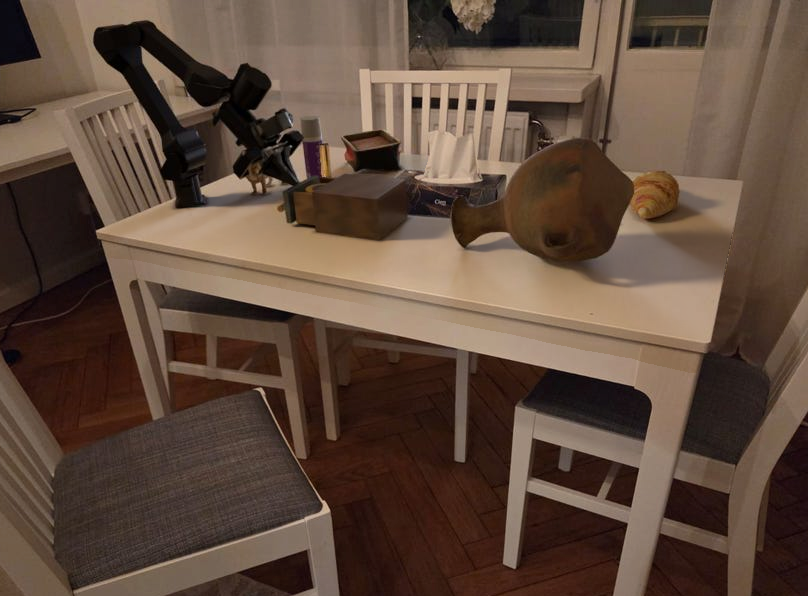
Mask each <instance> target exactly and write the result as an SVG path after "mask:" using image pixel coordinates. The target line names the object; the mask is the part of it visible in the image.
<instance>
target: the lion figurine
mask: <svg viewBox="0 0 808 596" xmlns="http://www.w3.org/2000/svg"><path fill="white" fill-rule="evenodd" d="M260 169H261V168H260V166H259V164H258V163H257V164H255V165H253V166H250V167H249V168H248V170H249V175H248V176H247V177H245V179H246V180H247V181H248V182H249V183H250V184H251V188H252V191H251V195H253V196H255V195H257V194H258V189H257V184H261V194H262V195H263V196H265V195H268V189H267V188H269V187H271V186H272V182H273V179H274V178H272V177H269V176H267V175H264V174H261V175H260V174H259V173H258V172H259V171H260ZM266 179H268V182H267V181H266ZM280 182H281V185H286V184H287V183H285V182H282V181H280Z"/></svg>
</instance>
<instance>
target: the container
mask: <svg viewBox="0 0 808 596" xmlns="http://www.w3.org/2000/svg"><path fill="white" fill-rule="evenodd" d="M300 130H301V134H302V136H303V137H304V139H303V141H302V142H301V143H302V151H303V158H304V167H305V168H304V169H305V174H306V175H305V176H306V179H308V178H309V177H311V176H313V175H318V176H319V184H321V183H320V177H322V175H321V162H320V153H319V145H320V144H323V145H324V143H323V135H322V127H321V117H320V116H319V115H307V116H302V117H300Z"/></svg>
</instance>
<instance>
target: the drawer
mask: <svg viewBox="0 0 808 596" xmlns="http://www.w3.org/2000/svg"><path fill="white" fill-rule="evenodd" d="M336 178H337V177H329V176H326V177H320V183H329V182H331V181H332V180H334V179H336ZM299 182H300V183H298V184H296V185H294V186H292V185H291V187H289V188H286V189H284V190H283V191H282V197H283V202H282V203H281V204H279V205H277V207H276V210H277V212H279V213H283V212H285V219H286V220H285V221H286V224H293V223H295V222H296V223H297V224H301V225H310V226H315V217H314V208H313V199H312V193H307V192H306V188H307V187H308V186H311V185H314V184H319V176H318V175H313V176H311V177H309V178H308V179H307V178H305V179H304V180H302V181H299Z"/></svg>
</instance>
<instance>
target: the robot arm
mask: <svg viewBox="0 0 808 596" xmlns="http://www.w3.org/2000/svg"><path fill="white" fill-rule="evenodd" d="M92 44H93V46H94V49H95V50H96V51H97V53H98V54H99V55H100V57H101V58H102V60H104V62H105V63H106V64H107V65H108V66H110V67H111V68H113V69H114V70H115V71H116V72H118V73H120V74H121V75H122V76H123V78H124V80H125V81H126V83H127V84H128V86H129V87H130V89H131V91H132V92H133V94H134V96H135V97H136V99H137V100H138V102H139V104H140V106H141V107H142V108H143V110H144V111H145V112H146V115H147V116H148V118H149V120H150V121H151V123H152V124H153V126H154V128H155V129H156V130H157V132H158V134H159V136H160V138H161V151H162V153H163V156H164V157H165V161H164V163H163V164H162V166H161V168H160V169H159V173H160V175H161V177H162V179H163V180H164V181H170V182H172V185H173V189H174V190H173V191H174V194H175V202H174V208H176V209H178V208H186V207H187V208H188V207H194V206H203V205H205V204H206V196H205V194H202V189H201V185H200V179H199V175H198V174H200V173H204V172H205V170H206V161H207V155H208V153H207V149H206V147H205V146H206V143H204V141H203V140H202V139H201V138H200V135H199V133H198V131H197V130H196V129H195V128H190V129H187V128H186V127H184V126H183V125H182V124H181V123H180V120H178V117H177V116H176V115H175V113H174V111H173V109H172V108H171V107H170V106H171V105H169V103H168V102H167V100H166V98H165V97H164V95H163V94H162V92H161V90H160V89H159V86H158V85H157V84H156V82H155V81H154V79H153V77H152V76H151V74H150V73H149V71H148V69H147V67H146V66H145V64H144V62H143V50H145V51H146V52H147V53H148V54H150V55H151V56H152V57H153V58H154V59H156V60H157V61H158V62H159V63H160V64H162V65H163V66H164V67H165V68H167V70H169V71H170V72H171V73H172V74H173V75H175V76H176V77H177V78H179V79H180V81H181V82H182V83H183V86H184V88H185V91H186V92H187V94H189V96H190V97H191V98H192V99H193V100H194V101H195V103H196V104H198V105H199V106H200V107H202V108H210V107H213V106H217V105H220V106H219V108H218V109H217V110H214V111H212V112H211V114H212V126H213V127H217V126H220V125H224V126H225V127H226V128H227V129H228V130H229V132H231V134H233V136H234V137H235V138H236V141H235V144H236V146H237V147H242V146H243V147H244V148H245V149H243V150H242V151H241V152H240V154H239V156H238V157H237V158H236V160H235V161H234V163H233V165H232V172H233V174H234V175H235V176H236V178H238V179H239V180H240V181H241V180H243V179H246V177H247V176H248V175H249V170H248V168H249V167H250V166H253V165H255V164H257V163H258V164H259V166H260V168H261V169H260V171H259V172H258V173H259V174H260V175H261V174H264V175H267V176H269V177H272V178H273V179H275V180H278V181H280V182H285V183H286V184H288V185H289V186H291V187H292V186H294V185H296V184H298V183H300V182H301V181H300V180H299V178H298V175H297V173H296V171H295V169H294V166H293V164H292V161H291V158H290V157H292V156H293V154H294V153H295V151H297V149H298V147H299V146H300V145H301V143H303V142H302V141H303V139H304V137H303V136H302V132H300V131H299V130H296V129H295V130H290V129H292V128H294V126H293V122H294V118H293V117H294V115H293V114H292V113H290V112H289V110H287V109H286V108H285V107H283V108H280V109H279V110H278V111H275V112H274V115H273V116H271V117H269V118H268V119H266V118H263V117H261V118H257V116H255V115H254V113H253V112H252V111H256V110H258V109H259V107H260V106H261V104H262V103H263V101H264V100H265V98H266V97H267V95H268V93H269V92H270V90H271V89H272V86H273V84H272V80H271V78H270V77H269V76H268V74H267V73H265V72H263V71H261V70H260V69H259V68H256V67H254V66H252V65H250V64H249V63H248V62H245V63H241V64H239V66H238V68H237V71H236V73H235V75H234V77H233V78H229V77H228V75H226V74H225V73H223V72H221V71H220V70H219V69H216V68H215V67H213V66H211V65H207V64H205V63H201V62H200V61H197V60H196V59H195V58H194V57H193V56H191V55H190V54H189V53H187V51H185V50H184V49H182V47H180V46H179V45H178V44H177V43H175V41H173V39H171V38H170V37H169V36H167V35H166V34H165V33H164V32H163V31H161V30H160V29H159V28H158V27H157V25H156V24H155V23H154V22H153V21H151V20H149V19H145V20H144V19H143V20H135V21H131V22H130V23H128V24H125V23H120V24H119V23H118V24H112V25H105V26H98V27H96V28H95V30H94V31H93V37H92ZM288 129H289V130H290V131H288V132H285V131H286V130H288ZM283 132H285V133H283ZM281 133H283V134H282V135H281Z"/></svg>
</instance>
